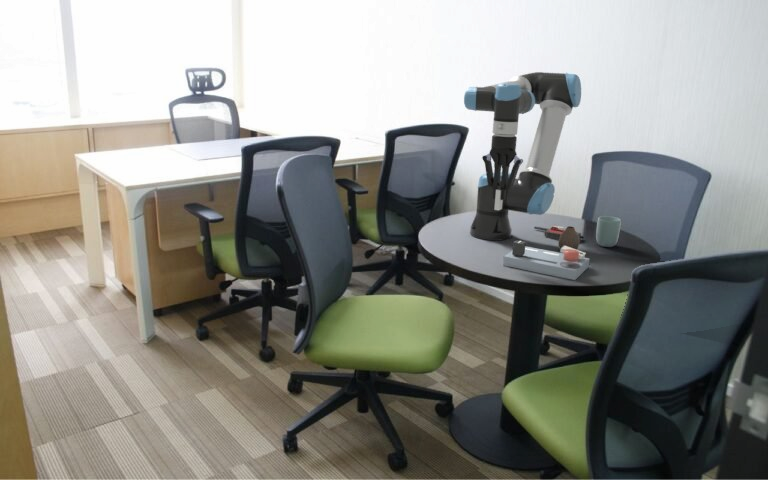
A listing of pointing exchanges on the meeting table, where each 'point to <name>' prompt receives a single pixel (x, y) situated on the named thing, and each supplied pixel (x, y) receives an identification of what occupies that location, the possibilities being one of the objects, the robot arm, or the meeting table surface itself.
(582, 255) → the rocker
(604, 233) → the cup
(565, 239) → the vase
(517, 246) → the slider
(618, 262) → the meeting table surface
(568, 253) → the button
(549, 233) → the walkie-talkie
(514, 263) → the console
